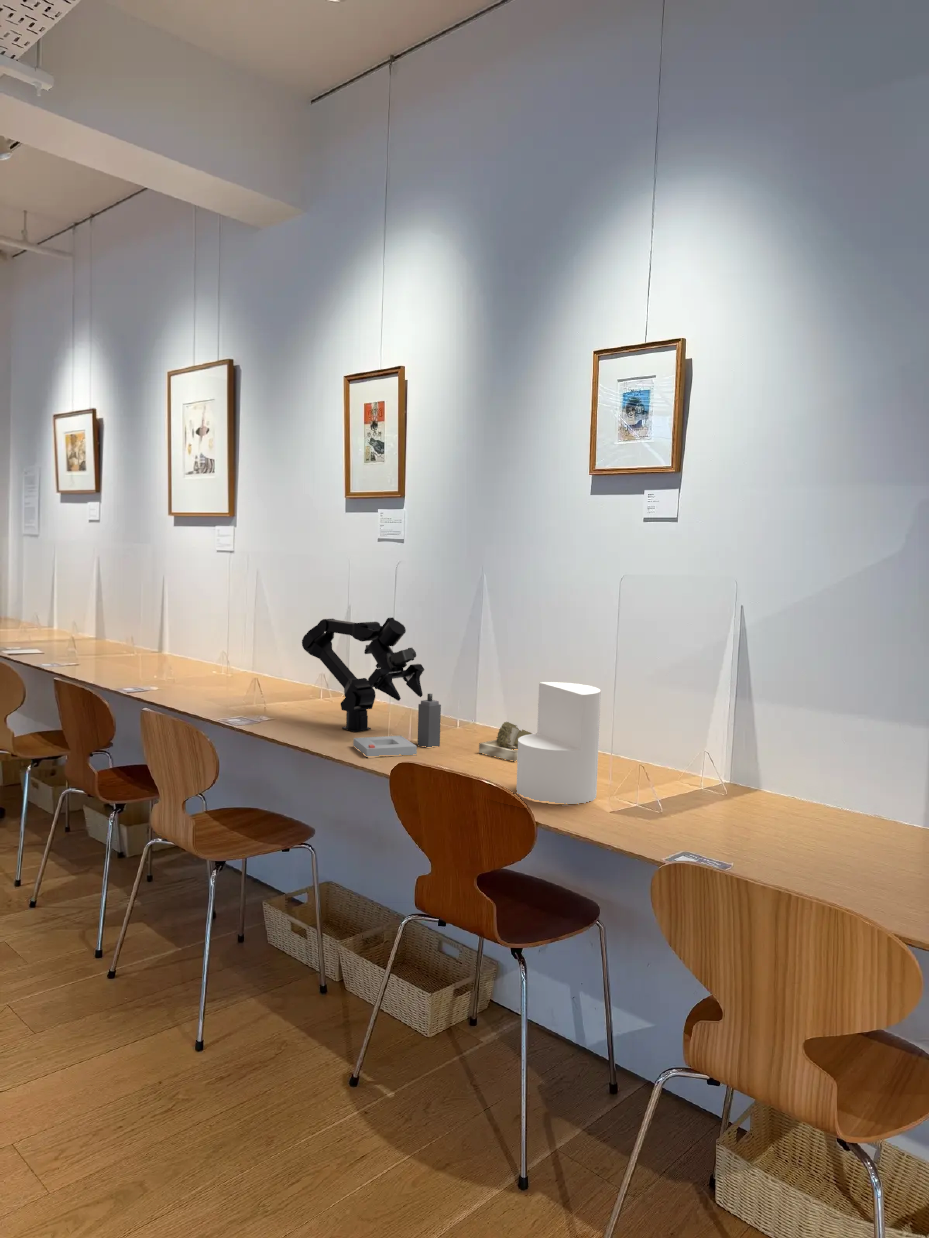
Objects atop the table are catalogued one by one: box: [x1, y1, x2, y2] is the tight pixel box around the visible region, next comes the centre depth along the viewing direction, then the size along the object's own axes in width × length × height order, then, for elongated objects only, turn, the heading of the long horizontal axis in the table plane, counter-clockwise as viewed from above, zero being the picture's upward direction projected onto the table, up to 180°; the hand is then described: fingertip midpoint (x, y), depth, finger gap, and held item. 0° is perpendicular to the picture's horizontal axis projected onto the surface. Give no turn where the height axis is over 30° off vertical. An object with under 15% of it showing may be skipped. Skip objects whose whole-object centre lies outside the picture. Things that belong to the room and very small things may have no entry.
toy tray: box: [478, 739, 518, 761], centre depth 254 cm, size 13×21×3 cm, turn 136°
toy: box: [496, 721, 534, 749], centre depth 254 cm, size 7×7×15 cm
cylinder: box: [516, 681, 602, 805], centre depth 212 cm, size 19×19×25 cm
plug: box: [417, 693, 442, 747], centre depth 258 cm, size 4×4×15 cm
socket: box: [352, 735, 418, 756], centre depth 251 cm, size 14×14×3 cm
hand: (410, 697), depth 263 cm, fingers open, 9 cm apart
